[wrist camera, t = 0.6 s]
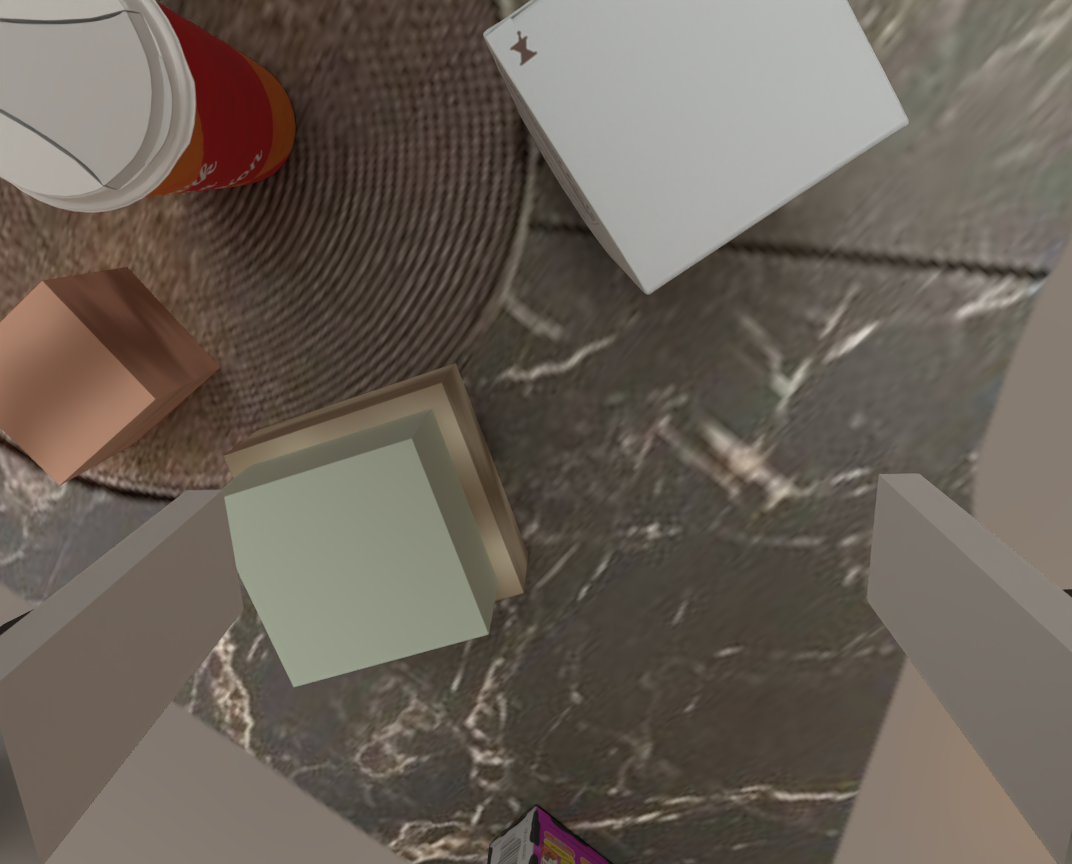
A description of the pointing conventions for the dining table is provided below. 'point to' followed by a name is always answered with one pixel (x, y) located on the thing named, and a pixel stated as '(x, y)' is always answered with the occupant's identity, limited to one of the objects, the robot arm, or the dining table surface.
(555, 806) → the dining table surface
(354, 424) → the tower base
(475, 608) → the tower top
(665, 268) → the supplement box
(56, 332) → the terracotta cube
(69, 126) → the coffee cup
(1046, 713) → the robot arm
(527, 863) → the candy bar box
